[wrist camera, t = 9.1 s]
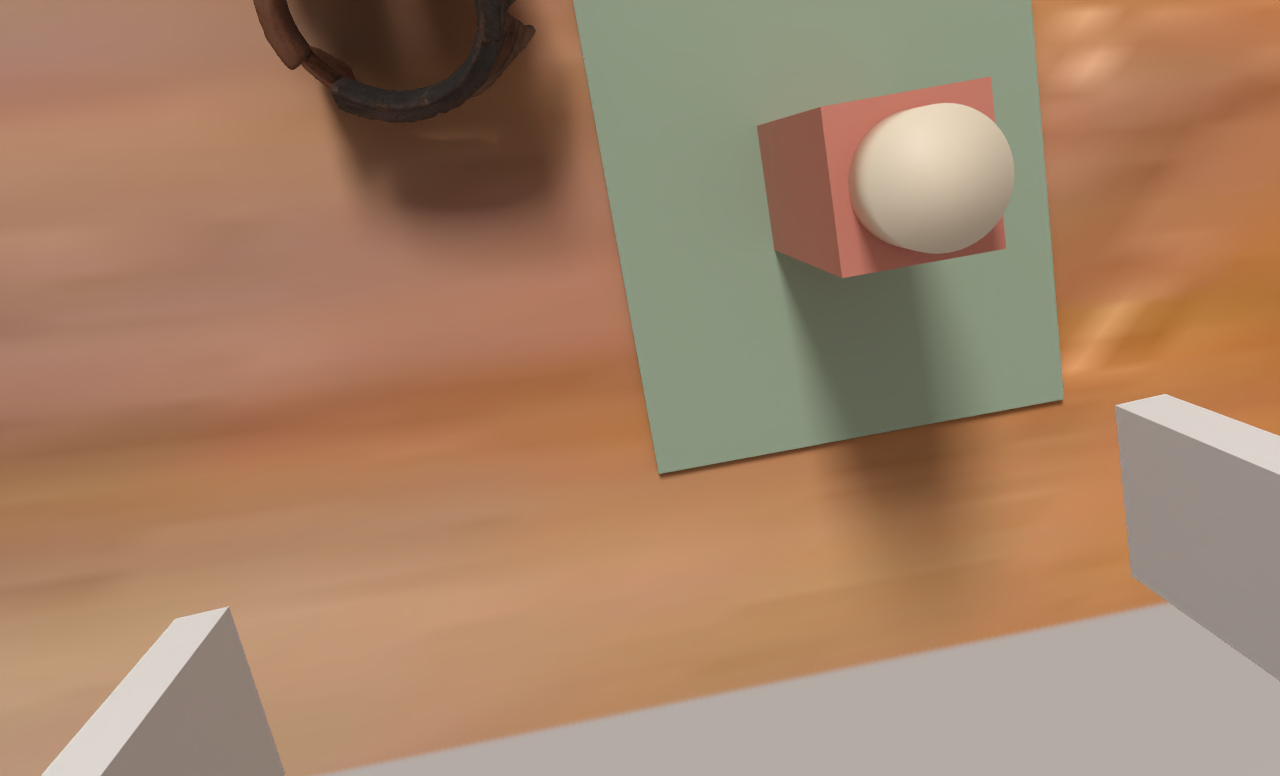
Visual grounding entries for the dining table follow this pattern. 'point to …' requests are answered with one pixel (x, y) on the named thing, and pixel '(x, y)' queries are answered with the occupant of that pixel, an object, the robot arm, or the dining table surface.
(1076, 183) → the dining table surface
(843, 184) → the red tall block
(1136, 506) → the robot arm
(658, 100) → the felt mat
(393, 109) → the pottery mug
